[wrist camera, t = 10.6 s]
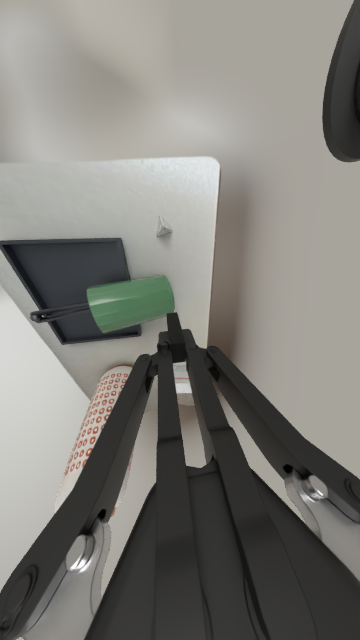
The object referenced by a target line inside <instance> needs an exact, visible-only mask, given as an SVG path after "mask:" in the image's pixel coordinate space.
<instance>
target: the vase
mask: <svg viewBox="0 0 360 640" xmlns="http://www.w3.org/2000/svg"><path fill="white" fill-rule="evenodd" d="M132 368H133V367H131V366H128V365H120V366H117V367H115V368H112V369H111V370H109V371H107V372H106V373H105V374H104V375H103V376H102V378H101V379H100V381H99V383H98V385H97V387H96V390H95V392H94V395H93V397H92V400H91V402H90V405H89V407H88V410H87V412H86V415H85V417H84V420H83V423H82V425H81V428H80V431H79V433H78V436H77V439H76V442H75V444H74V447H73V450H72V452H71V455H70V458H69V461H68V464H67V467H66V470H65V473H64V476H63V479H62V482H61V486H60V489H59V492H58V495H57V499H56V504H55V513H56V512H57V510H58V509H59V507H60V506H61V505H62V503H63V502H64V501H65V499H66V498H67V496H68V495H69V494H70V492H71V491H72V489H73V487H74V485H75V483H76V481H77V479H78V477H79V475H80V473H81V471H82V469H83V467H84V465H85V463H86V461H87V459H88V457H89V455H90V453H91V451H92V449H93V447H94V445H95V443H96V441H97V439H98V437H99V435H100V433H101V431H102V429H103V427H104V425H105V423H106V421H107V419H108V417H109V415H110V413H111V411H112V409H113V407H114V405H115V403H116V401H117V399H118V396H119V394H120V392H121V390H122V388H123V386H124V384H125V382H126V380H127V378H128V376H129V374H130V372H131V370H132ZM133 451H134V447H133V450H132V454H131V457H130V461H129V464H128V467H127V471H126V474H125V477H124V481H123V484H122V487H121V490H120V493H119V496H118V499H117V502H116V505H115V507H114V510H113V512H112V514H111V517H112V516H113V515H114V512H115V509H116V508H117V507H118V505H119V504H120V502H121V501H122V498H123V496H124V493H125V490H126V486H127V481H128V477H129V471H130V467H131V461H132V456H133Z"/></svg>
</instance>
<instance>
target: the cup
mask: <svg viewBox="0 0 360 640" xmlns="http://www.w3.org/2000/svg"><path fill="white" fill-rule="evenodd" d="M87 299H88V303H89V307H90V310H91V312H92V315H93V318H94V320H95V322H96V324H97V326H98V327H99V329H100V330H101V332H103V333H108V332H112V331H115V330H119V329H122V328H126V327H130V326H133V325H137V324H140V323H144V322H148V321H151V320H155V319H158V318H162V317H166V316H167V314H166V313H174V297H173V292H172V289H171V286H170V283H169V281H168V279H167V278H166V277H165V276H164V275H161V276H160V275H158V276H152V277H146V278H140V279H134V280H127V281H121V282H115V283H109V284H103V285H96V286H90V287H88V288H87Z"/></svg>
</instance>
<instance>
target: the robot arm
mask: <svg viewBox="0 0 360 640" xmlns="http://www.w3.org/2000/svg"><path fill="white" fill-rule="evenodd" d="M354 110H355V114H356V117H357V120H358V121H359V123H360V63H359V66H358V71H357V75H356V80H355V87H354ZM166 314H167V326H168V331H165V332H160V333H159V343H158V344H157V349H158V352H157V353H155V354H154V355H151V356H150V355H149V354H143V355H140V356H139V357H138V358H137V360H136V362H135V364H134V366H133V368H132V370H131V372H130V374H129V376H128V378H127V380H126V382H125V384H124V386H123V388H122V390H121V392H120V394H119V396H118V399H117V401H116V403H115V405H114V407H113V409H112V411H111V413H110V415H109V417H108V419H107V421H106V423H105V425H104V427H103V429H102V431H101V433H100V435H99V437H98V439H97V441H96V443H95V445H94V447H93V449H92V451H91V453H90V455H89V457H88V459H87V461H86V463H85V465H84V467H83V469H82V471H81V473H80V475H79V477H78V479H77V481H76V483H75V485H74V487H73V489H72V491H71V492H70V494H69V495H68V496H67V498H66V499H65V501H64V502H63V503H62V505H61V506H60V507H59V509H58V510H57V512H56V513H55V514H54V516H53V517H52V519H51V520H50V521H49V523H48V524H47V526H46V527H45V528H44V530H43V531H42V532H41V534H40V535H39V536H38V538H37V539H36V541H35V542H34V543H33V545H32V547H31V548H30V549H29V551H28V552H27V553H26V555H25V556H24V557H23V559H22V560H21V561H20V563H19V564H18V566H17V567H16V568H15V570H14V571H13V573H12V574H11V576H10V577H9V579H8V581H7V582H6V584H5V585H4V587H3V589H2V590H1V593H0V640H16V639H17V638H19V637H23V639H24V640H360V479H358V478H357V477H356V476H355V475H353V474H352V473H351V472H349V471H348V470H346V469H345V468H344V467H343V466H341V465H340V464H338V463H337V462H336V461H335V460H333V459H332V458H330V457H329V456H328V455H326V454H325V453H324V452H322V451H321V450H320V449H318V448H317V447H316V446H314V445H313V444H311V443H310V442H309V441H308V440H306V439H305V438H304V437H303V436H302V435H301V434H300V433H299V432H298V431H297V430H296V429H295V428H294V427H293V426H292V425H291V424H290V423H289V422H288V420H287V419H286V418H285V417H284V416H283V415H282V414H281V413H280V412H279V411H278V410H277V409H276V408H275V407H274V406H273V405H272V404H271V403H270V402H269V401H268V400H267V398H266V397H265V396H264V395H263V394H262V393H261V392H260V391H259V390H258V389H257V388H256V387H255V386H254V385H253V384H252V383H251V382H250V381H249V380H248V379H247V377H246V376H245V375H244V374H243V373H242V372H241V371H240V370H239V369H238V368H237V367H236V366H235V365H234V364H233V363H232V362H231V361H230V360H229V359H228V358H227V357H226V355H225V354H224V353H223V352H222V351H221V350H220V349H219V348H218V347H216V346H209V347H208V348H207V349H203V348H199V347H198V345H196V343H195V341H194V338H193V335H192V333H191V331H190V330H189V329H181V325H180V321H179V318H178V314H177V312H176V313H166ZM185 360H186V371H187V373H188V377H189V381H190V386H191V390H192V395H193V399H194V404H195V408H196V412H197V417H198V422H199V426H200V430H201V435H202V440H203V444H204V451H205V458H206V463H207V465H205V466H204V467H202V468H196V467H190V466H186V463H185V455H184V447H183V440H182V434H181V427H180V419H179V410H178V402H177V394H176V386H175V377H174V369H173V363H180V362H185ZM156 375H158V441H157V468H156V472H157V474H156V476H157V477H156V483H155V484H154V486H153V487H152V489H151V490H150V492H149V494H148V496H147V498H146V500H145V502H144V504H143V506H142V509H141V511H140V513H139V516H138V518H137V520H136V522H135V525H134V527H133V529H132V532H131V534H130V536H129V538H128V541H127V543H126V545H125V547H124V550H123V552H122V554H121V557H120V559H119V561H118V564H117V566H116V568H115V570H114V572H113V575H112V577H111V579H110V581H109V584H108V586H107V588H106V591H105V593H104V595H103V597H102V599H101V579H102V574H103V569H104V566H105V562H106V559H107V556H108V553H109V550H110V544H111V530H110V526H109V524H108V521H109V519H110V517H111V514H112V512H113V510H114V507H115V505H116V502H117V499H118V496H119V493H120V490H121V487H122V484H123V481H124V477H125V474H126V471H127V467H128V464H129V461H130V457H131V454H132V450H133V447H134V444H135V440H136V437H137V433H138V430H139V427H140V424H141V420H142V417H143V414H144V410H145V407H146V403H147V400H148V397H149V393H150V390H151V387H152V383H153V380H154V376H156ZM210 377H211V378H210ZM211 379H212V380H213V382H214V383H215V385H216V386H217V388H218V389H219V390H220V392H221V393H222V395H223V396H224V398H225V399H226V401H227V402H228V404H229V405H230V407H231V408H232V410H233V411H234V412H235V413H236V415H237V417H238V418H239V420H240V421H241V423H242V424H243V425H244V427H245V429H246V430H247V432H248V433H249V434H250V436H251V437H252V439H253V440H254V442H255V443H256V445H257V446H258V447H259V449H260V450H261V452H262V453H263V455H264V456H265V458H266V459H267V460H268V462H269V463H270V464H271V466H272V467H273V468H274V469H275V470H276V472H277V473H278V474H279V475H280V476H281V477H282V478H283V479H284V481H285V488H286V491H287V494H288V496H289V498H290V500H291V501H292V502H293V503H294V504H295V506H296V507H297V508H298V510H299V511H300V513H301V515H302V517H303V518H304V520H305V523H306V524H305V523H304V522H303V521H302V520H301V519H300V518H299V517H298V516H297V515H296V514H295V513H294V512H293V511H292V510H291V509H290V508H289V507H288V506H287V505H286V503H285V502H284V501H282V499H281V498H280V497H279V496H278V495H277V494H276V493H275V492H274V491H273V490H272V489H271V488H270V487H269V486H268V485H267V484H266V483H265V482H264V481H263V480H262V479H261V478H260V477H259V476H258V475H257V474H256V473H255V472H254V471H253V470H252V469H251V468H250V467H249V465H248V462H247V460H246V457H245V455H244V452H243V450H242V448H241V445H240V443H239V440H238V438H237V436H236V433H235V431H234V430H233V428H232V427H230V426H229V424H228V421H227V419H226V417H225V414H224V411H223V409H222V406H221V404H220V401H219V398H218V396H217V393H216V391H215V388H214V385H213V383H212V380H211Z"/></svg>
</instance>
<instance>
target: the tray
mask: <svg viewBox="0 0 360 640" xmlns="http://www.w3.org/2000/svg"><path fill="white" fill-rule="evenodd" d="M0 249H1V251H2V252H3V254H4V256H5V257H6V259H7V260H8V262H9V263H10V265H11V266H12V268H13V270H14V271H15V273H16V274H17V276H18V277H19V279H20V280H21V282H22V283H23V285H24V287H25V288H26V290H27V291H28V293H29V294H30V296H31V297H32V299H33V301H34V302H35V304H36V305H37V307H38V308H39V310H45V309H50V308H55V307H60V306H65V305H71V304H76V303H81V302H86V301H88V299H87V288H88V287H90V286H96V285H103V284H109V283H115V282H121V281H127V280H130V276H129V272H128V267H127V263H126V258H125V254H124V249H123V244H122V240H121V238H95V239H51V240H8V241H0ZM86 308H90V307H89V306H85V307H80V308H75V309H70V310H65V311H60V312H55V313H50V314H45V315H43V316H44V317H47V316H52V315H57V314H62V313H66V312H71V311H76V310H81V309H86ZM47 322H48V324H49V325H50V327H51V329H52V330H53V332H54V333H55V335H56V336H57V338H58V339H59V341H60V342H61V344H62V345H65V344H74V343H83V342H92V341H101V340H110V339H119V338H128V337H137V336H141V333H142V331H141V327H140V324H137V325H133V326H130V327H126V328H122V329H119V330H115V331H112V332H108V333H103V332H101V330H100V329H99V327H98V326H97V324H96V322H95V320H94V318H93V315H92V312H88V313H84V314H79V315H74V316H70V317H65V318H61V319H56V320H51V321H47Z"/></svg>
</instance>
